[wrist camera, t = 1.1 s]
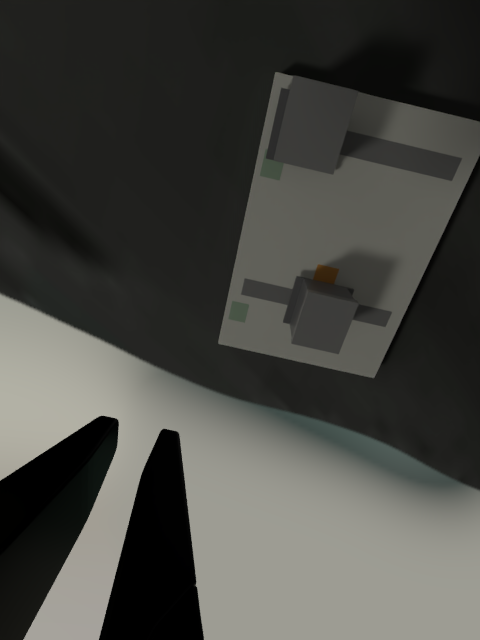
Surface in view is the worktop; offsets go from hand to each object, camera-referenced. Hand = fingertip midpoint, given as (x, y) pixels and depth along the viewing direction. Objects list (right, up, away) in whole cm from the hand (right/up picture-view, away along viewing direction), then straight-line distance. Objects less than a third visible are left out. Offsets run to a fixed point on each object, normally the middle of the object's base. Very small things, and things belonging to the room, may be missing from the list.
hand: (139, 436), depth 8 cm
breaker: (+5, +11, +7) cm, 14 cm away
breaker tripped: (+7, +4, +11) cm, 13 cm away
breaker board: (+7, +7, +11) cm, 15 cm away
